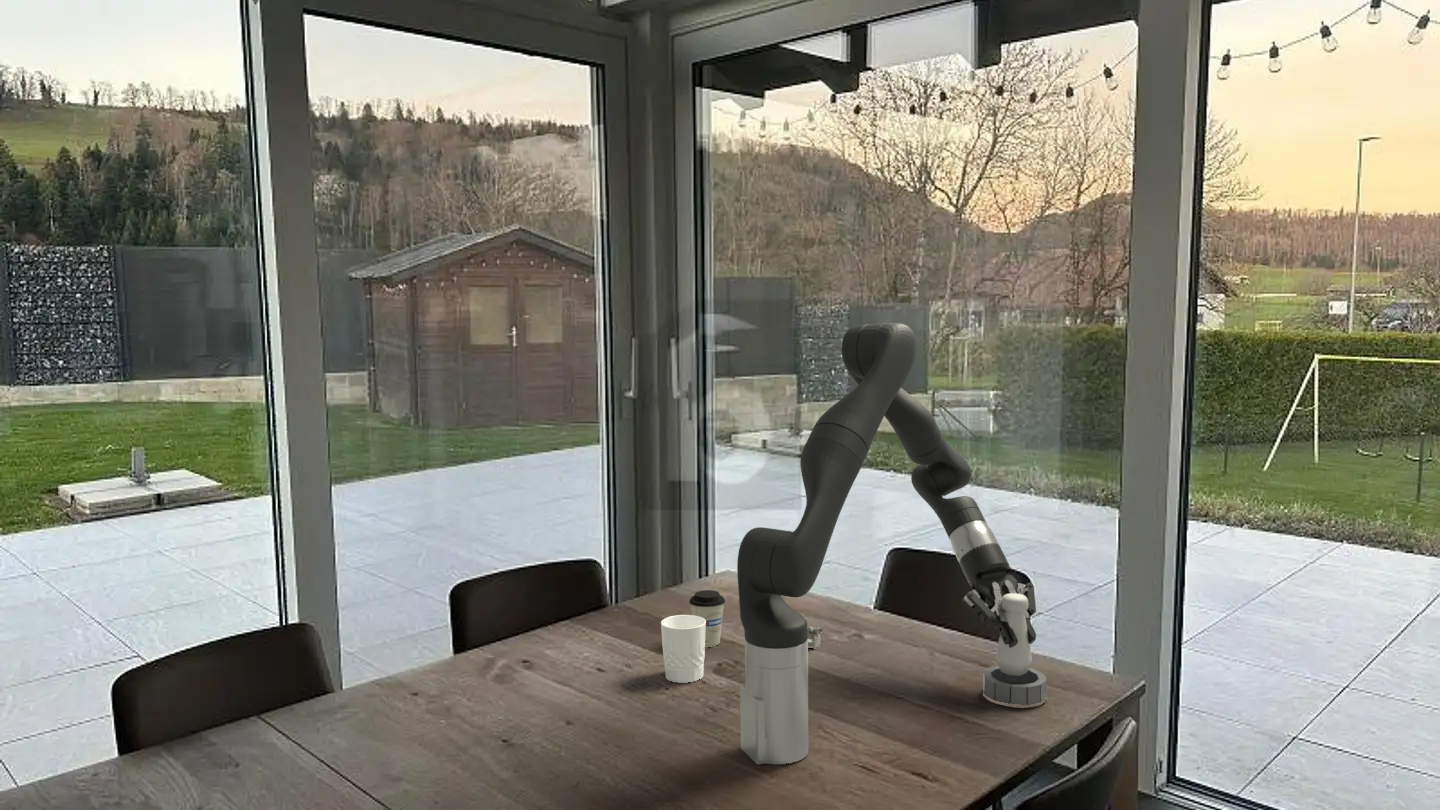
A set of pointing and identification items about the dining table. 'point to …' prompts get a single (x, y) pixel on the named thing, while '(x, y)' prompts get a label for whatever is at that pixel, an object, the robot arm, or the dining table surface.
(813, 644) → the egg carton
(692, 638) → the white cup
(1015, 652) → the salt shaker
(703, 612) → the coffee cup
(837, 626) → the dining table surface
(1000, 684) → the bowl
